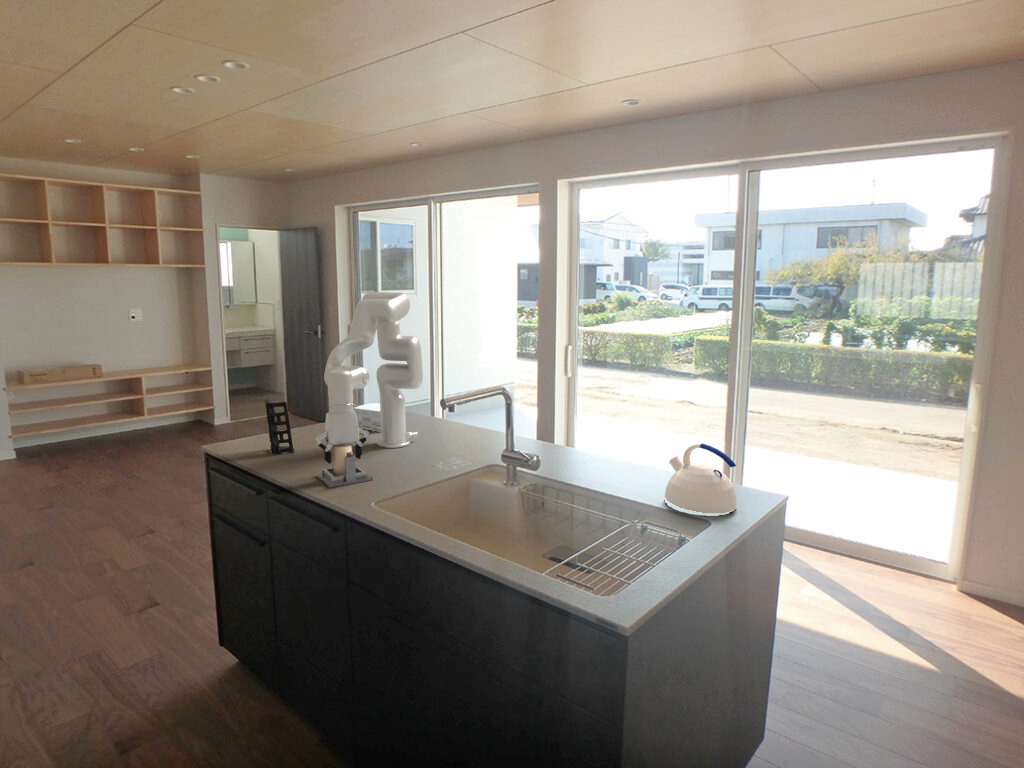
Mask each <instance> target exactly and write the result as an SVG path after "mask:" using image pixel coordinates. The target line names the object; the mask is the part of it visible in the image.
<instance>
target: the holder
mask: <svg viewBox="0 0 1024 768" xmlns="http://www.w3.org/2000/svg"><path fill="white" fill-rule="evenodd" d="M264 403H265V404H264V405H265V409H266V412H265V413H266V420H267V424H268V437H269V443H270V451H271V454H272V453H273V454H274V455H278V453H279V454H282V453H289V452H290V453H293V452H295V449H294V445H293V444H294V443H293V438H292V437H293V436H292V432H291V424H290V416H289V411H288V404H287V402H286V401H281V402H280V401H279V402H270V401H269V399H268V398H266V399H265V400H264ZM277 407H278V408H281V407H282V408H283V411H279V412H276V411H275V408H277ZM282 416H284V418H285V420H284V421H283V420H282V418H281V417H282ZM278 426H285V427H286V429H284V430H278ZM285 434H287V438H286V439H285V438H284V435H285ZM281 444H288V446H287V445H286V446H284V445H283V446H282V445H281Z"/></svg>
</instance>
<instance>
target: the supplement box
mask: <svg viewBox="0 0 1024 768" xmlns="http://www.w3.org/2000/svg"><path fill="white" fill-rule="evenodd" d="M354 411H355V412H356V416H357V421H358V427H359V428H360V429H366V430H365V431H368V430H372V431H371V432H375V431H377V432H376V433H381V416H380V403H378V402H377V403H376V402H369V403H365V404H361V405H358V407H355V408H354Z"/></svg>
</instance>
